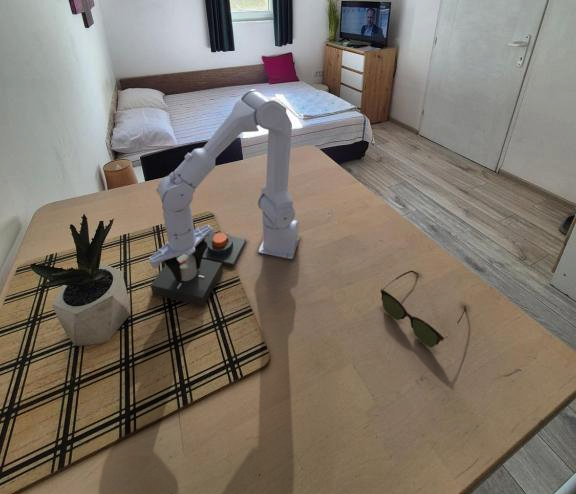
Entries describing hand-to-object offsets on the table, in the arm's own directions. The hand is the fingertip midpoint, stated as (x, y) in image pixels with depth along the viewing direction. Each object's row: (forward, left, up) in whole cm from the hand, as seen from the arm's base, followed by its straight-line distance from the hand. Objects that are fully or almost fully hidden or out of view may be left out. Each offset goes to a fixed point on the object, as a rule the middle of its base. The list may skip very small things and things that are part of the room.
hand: (187, 272), depth 76 cm
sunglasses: (-54, -7, -4) cm, 55 cm away
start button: (-3, -12, -1) cm, 12 cm away
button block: (-3, -12, -3) cm, 12 cm away
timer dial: (0, 0, 0) cm, 0 cm away
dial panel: (0, 0, -3) cm, 3 cm away
